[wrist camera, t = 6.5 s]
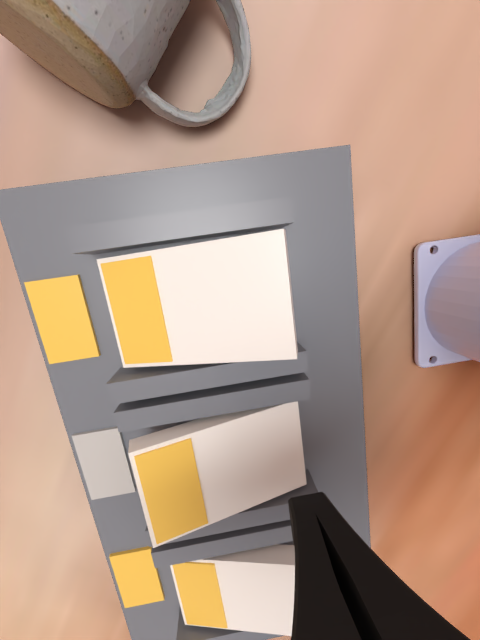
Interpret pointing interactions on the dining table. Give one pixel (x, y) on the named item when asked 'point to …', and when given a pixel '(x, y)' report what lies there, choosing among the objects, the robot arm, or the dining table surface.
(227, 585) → the rocker
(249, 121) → the dining table surface
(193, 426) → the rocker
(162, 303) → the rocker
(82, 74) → the ceramic mug
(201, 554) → the switch panel
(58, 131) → the dining table surface
